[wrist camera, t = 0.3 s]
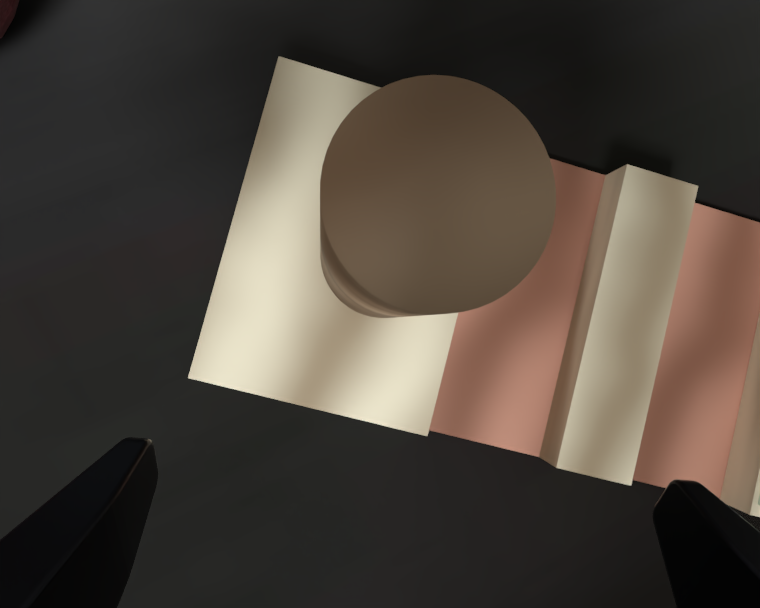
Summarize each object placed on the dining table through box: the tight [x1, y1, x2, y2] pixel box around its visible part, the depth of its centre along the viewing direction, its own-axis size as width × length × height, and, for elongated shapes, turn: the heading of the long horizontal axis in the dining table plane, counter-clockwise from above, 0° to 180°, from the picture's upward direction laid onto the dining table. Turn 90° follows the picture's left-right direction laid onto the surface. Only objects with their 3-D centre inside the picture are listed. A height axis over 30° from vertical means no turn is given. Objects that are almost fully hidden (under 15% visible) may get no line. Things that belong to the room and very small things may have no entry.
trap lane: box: [188, 56, 760, 517], centre depth 23 cm, size 33×13×2 cm, turn 75°
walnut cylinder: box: [320, 75, 556, 318], centre depth 16 cm, size 5×5×10 cm
